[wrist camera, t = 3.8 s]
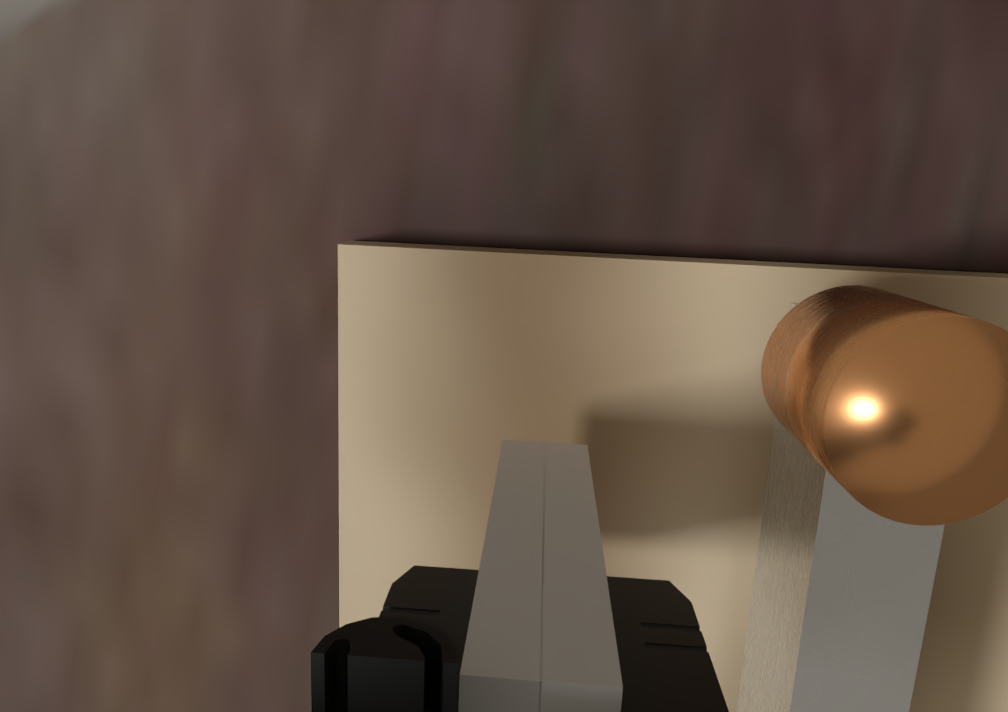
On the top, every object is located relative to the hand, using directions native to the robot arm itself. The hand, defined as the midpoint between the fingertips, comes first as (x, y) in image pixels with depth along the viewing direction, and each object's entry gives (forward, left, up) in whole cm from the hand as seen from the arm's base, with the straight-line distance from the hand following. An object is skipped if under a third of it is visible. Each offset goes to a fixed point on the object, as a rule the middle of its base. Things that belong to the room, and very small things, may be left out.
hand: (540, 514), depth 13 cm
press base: (+6, -4, -3) cm, 7 cm away
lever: (+5, -4, -1) cm, 6 cm away
